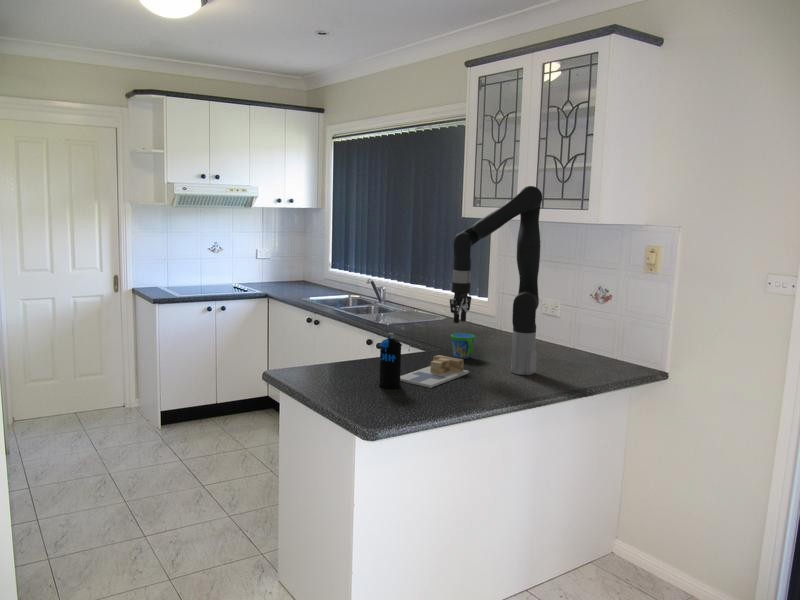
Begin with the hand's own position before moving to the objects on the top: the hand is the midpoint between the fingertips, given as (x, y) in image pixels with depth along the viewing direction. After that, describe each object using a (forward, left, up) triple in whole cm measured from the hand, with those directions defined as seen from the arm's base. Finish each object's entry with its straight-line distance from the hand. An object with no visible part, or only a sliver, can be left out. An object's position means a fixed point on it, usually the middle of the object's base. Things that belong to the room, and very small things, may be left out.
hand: (459, 322), depth 273 cm
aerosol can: (+5, +41, -20) cm, 46 cm away
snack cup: (+8, -17, -20) cm, 27 cm away
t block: (0, +12, -18) cm, 22 cm away
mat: (0, +19, -19) cm, 27 cm away
